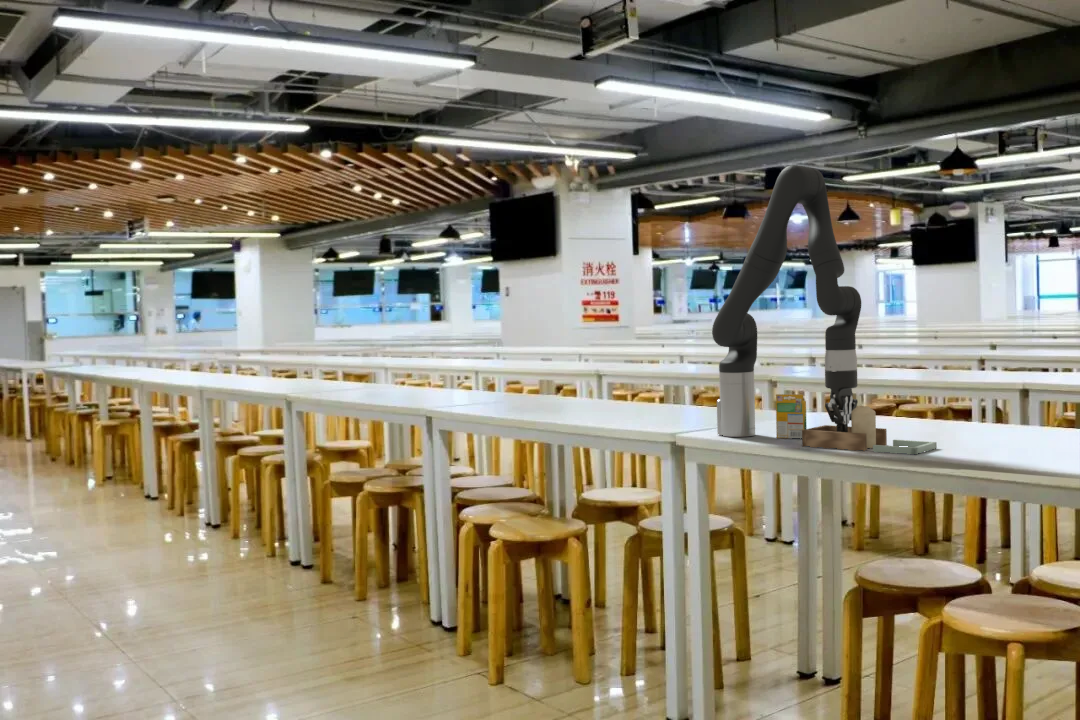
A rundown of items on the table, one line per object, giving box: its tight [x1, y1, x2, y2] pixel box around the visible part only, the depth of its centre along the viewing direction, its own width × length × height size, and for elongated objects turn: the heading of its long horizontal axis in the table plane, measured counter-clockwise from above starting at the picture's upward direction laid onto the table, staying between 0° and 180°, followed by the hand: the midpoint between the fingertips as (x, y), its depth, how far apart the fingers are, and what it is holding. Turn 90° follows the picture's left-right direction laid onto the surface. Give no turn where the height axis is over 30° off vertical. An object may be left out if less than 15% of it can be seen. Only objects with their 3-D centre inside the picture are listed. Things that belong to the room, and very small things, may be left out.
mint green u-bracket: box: [872, 439, 938, 455], centre depth 224 cm, size 10×12×2 cm
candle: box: [850, 405, 877, 449], centre depth 231 cm, size 6×6×10 cm
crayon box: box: [775, 393, 808, 440], centre depth 252 cm, size 7×3×12 cm, turn 62°
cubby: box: [801, 424, 888, 452], centre depth 235 cm, size 16×12×4 cm
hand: (842, 439), depth 235 cm, fingers closed
